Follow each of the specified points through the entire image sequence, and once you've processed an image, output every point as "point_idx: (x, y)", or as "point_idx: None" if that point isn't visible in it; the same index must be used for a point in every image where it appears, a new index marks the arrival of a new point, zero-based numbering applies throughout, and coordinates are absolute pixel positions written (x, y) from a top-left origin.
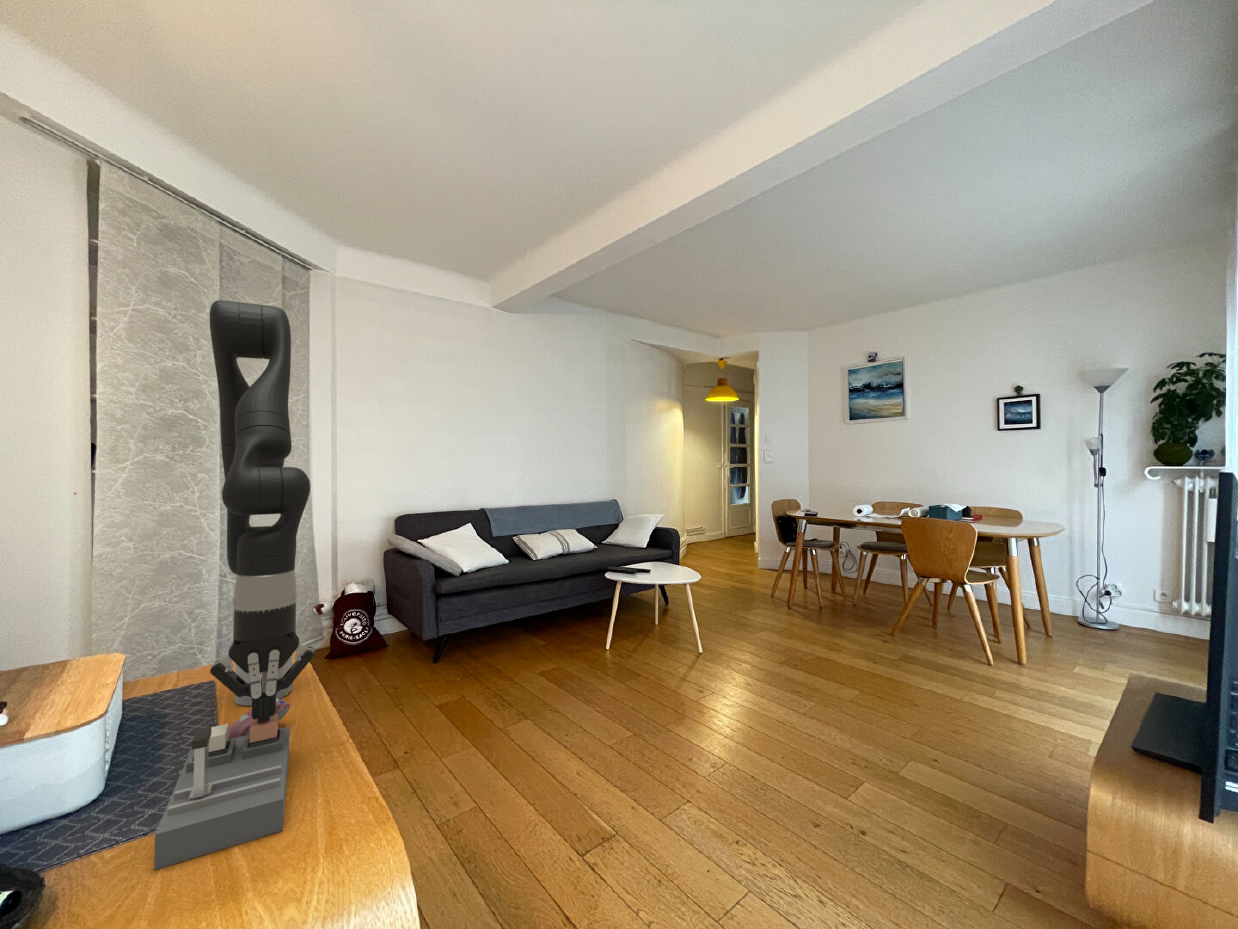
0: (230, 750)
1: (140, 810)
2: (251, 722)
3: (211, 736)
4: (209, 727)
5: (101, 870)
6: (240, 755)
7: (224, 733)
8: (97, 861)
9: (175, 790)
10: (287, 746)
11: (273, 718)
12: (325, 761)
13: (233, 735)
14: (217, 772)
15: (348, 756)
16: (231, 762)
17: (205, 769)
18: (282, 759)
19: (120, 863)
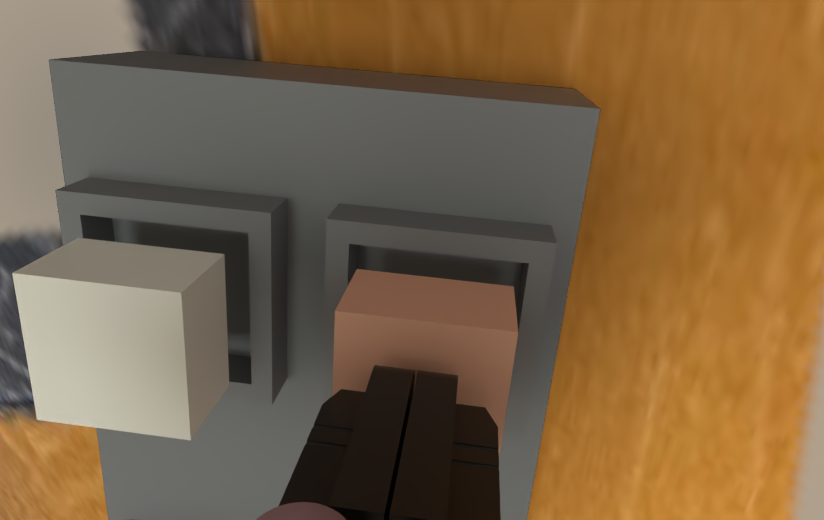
0: (263, 366)
1: (34, 244)
2: (333, 368)
3: (115, 426)
4: None
5: (52, 504)
6: (323, 333)
7: (184, 432)
8: (24, 459)
9: (109, 472)
10: (548, 384)
11: (479, 397)
12: (709, 306)
13: None
14: (241, 436)
15: (817, 327)
16: (288, 380)
17: None
18: (511, 494)
19: (88, 503)
